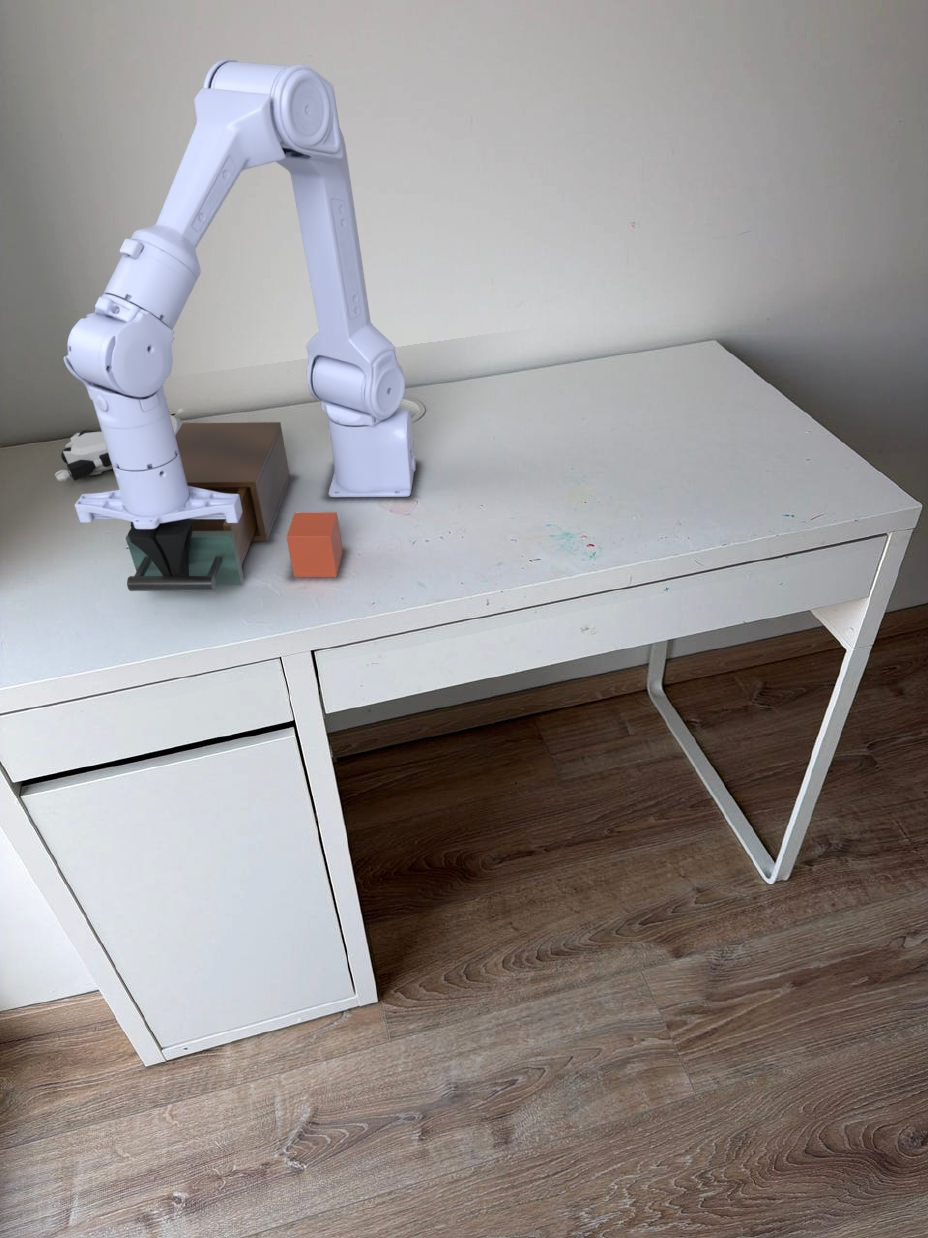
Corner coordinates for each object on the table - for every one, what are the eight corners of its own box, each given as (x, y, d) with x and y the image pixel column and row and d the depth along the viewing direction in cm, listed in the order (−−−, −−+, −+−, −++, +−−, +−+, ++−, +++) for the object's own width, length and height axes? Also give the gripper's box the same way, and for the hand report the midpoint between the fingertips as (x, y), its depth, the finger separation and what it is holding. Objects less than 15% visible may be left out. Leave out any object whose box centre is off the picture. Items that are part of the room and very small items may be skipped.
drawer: (230, 614, 84) (217, 566, 81) (125, 614, 85) (108, 566, 81) (267, 517, 97) (258, 472, 94) (176, 518, 98) (163, 472, 94)
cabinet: (267, 541, 95) (255, 481, 91) (163, 541, 96) (146, 482, 91) (290, 478, 106) (280, 421, 101) (196, 479, 106) (182, 422, 101)
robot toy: (60, 503, 104) (187, 482, 105) (44, 469, 101) (175, 448, 102) (80, 453, 114) (196, 435, 114) (66, 421, 111) (185, 402, 111)
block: (342, 552, 93) (337, 512, 90) (336, 577, 90) (330, 536, 87) (301, 552, 93) (294, 512, 90) (294, 577, 90) (286, 536, 87)
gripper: (44, 478, 74) (90, 606, 82) (215, 478, 73) (244, 607, 82) (76, 439, 79) (116, 563, 88) (235, 439, 79) (260, 563, 87)
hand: (179, 581), depth 85 cm, fingers closed, pressing on drawer
